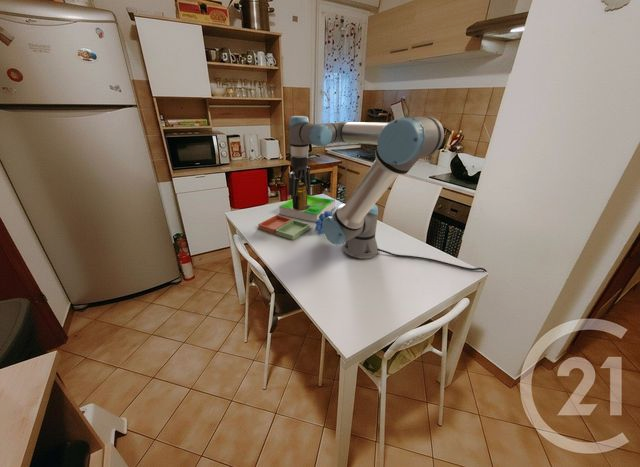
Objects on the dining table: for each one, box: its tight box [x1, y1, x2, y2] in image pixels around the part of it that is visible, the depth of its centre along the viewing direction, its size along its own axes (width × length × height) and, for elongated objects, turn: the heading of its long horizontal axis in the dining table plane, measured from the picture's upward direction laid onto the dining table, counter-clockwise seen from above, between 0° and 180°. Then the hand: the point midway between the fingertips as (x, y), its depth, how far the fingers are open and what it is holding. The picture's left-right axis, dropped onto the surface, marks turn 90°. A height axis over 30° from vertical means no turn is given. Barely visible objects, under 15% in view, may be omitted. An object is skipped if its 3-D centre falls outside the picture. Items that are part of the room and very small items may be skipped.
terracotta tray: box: [257, 214, 294, 235], centre depth 142 cm, size 11×15×2 cm
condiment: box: [291, 181, 312, 212], centre depth 121 cm, size 7×8×12 cm
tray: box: [278, 194, 336, 223], centre depth 161 cm, size 25×25×5 cm
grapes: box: [314, 211, 334, 235], centre depth 134 cm, size 12×7×12 cm, turn 129°
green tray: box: [275, 219, 311, 241], centre depth 137 cm, size 11×15×2 cm
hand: (300, 206), depth 122 cm, fingers closed on condiment, 6 cm apart
